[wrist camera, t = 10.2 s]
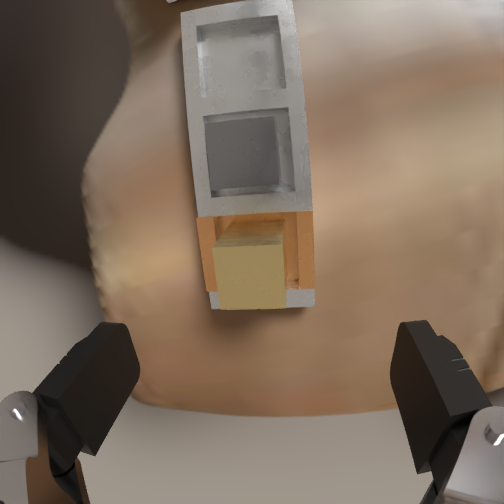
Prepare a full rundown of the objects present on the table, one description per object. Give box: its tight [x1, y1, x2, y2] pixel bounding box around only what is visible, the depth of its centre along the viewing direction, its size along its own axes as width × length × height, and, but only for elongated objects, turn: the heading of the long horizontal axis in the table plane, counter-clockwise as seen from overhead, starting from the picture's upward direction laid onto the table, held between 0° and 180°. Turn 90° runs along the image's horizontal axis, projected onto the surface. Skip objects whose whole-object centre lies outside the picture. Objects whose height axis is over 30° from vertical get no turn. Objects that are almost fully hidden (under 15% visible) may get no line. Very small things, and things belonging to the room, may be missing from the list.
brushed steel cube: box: [205, 116, 281, 190], centre depth 22 cm, size 4×4×5 cm
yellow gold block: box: [212, 220, 287, 310], centre depth 23 cm, size 4×4×6 cm
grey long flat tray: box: [181, 0, 315, 309], centre depth 24 cm, size 26×9×3 cm, turn 5°
